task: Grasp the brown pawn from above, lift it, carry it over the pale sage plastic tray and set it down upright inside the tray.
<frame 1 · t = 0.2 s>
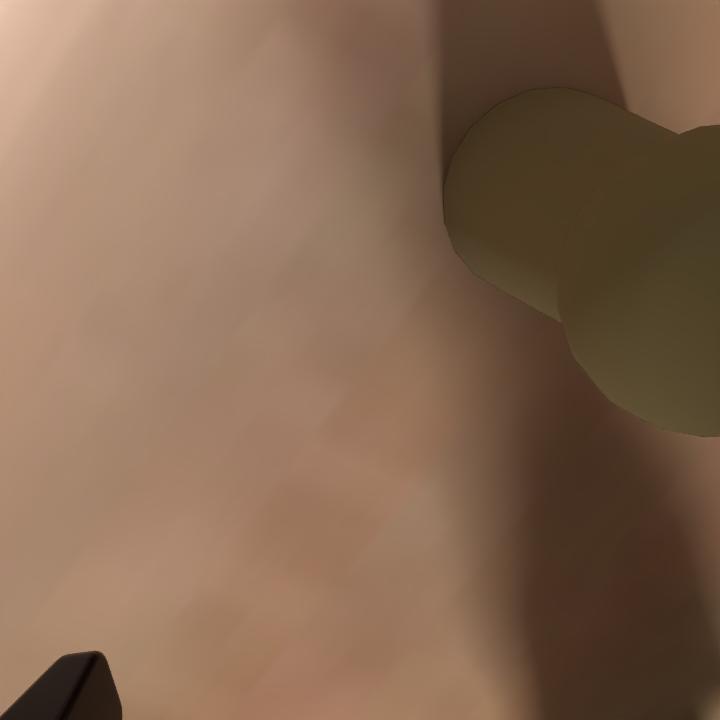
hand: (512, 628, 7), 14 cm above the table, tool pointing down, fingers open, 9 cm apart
brown pawn: (541, 195, 20), on the table
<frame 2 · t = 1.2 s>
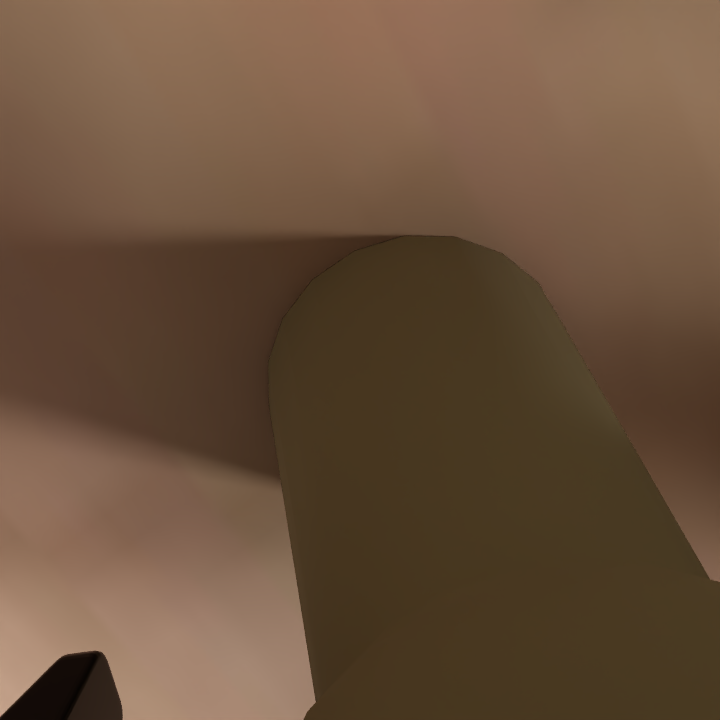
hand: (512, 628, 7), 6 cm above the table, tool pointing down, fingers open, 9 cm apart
brown pawn: (417, 380, 13), on the table
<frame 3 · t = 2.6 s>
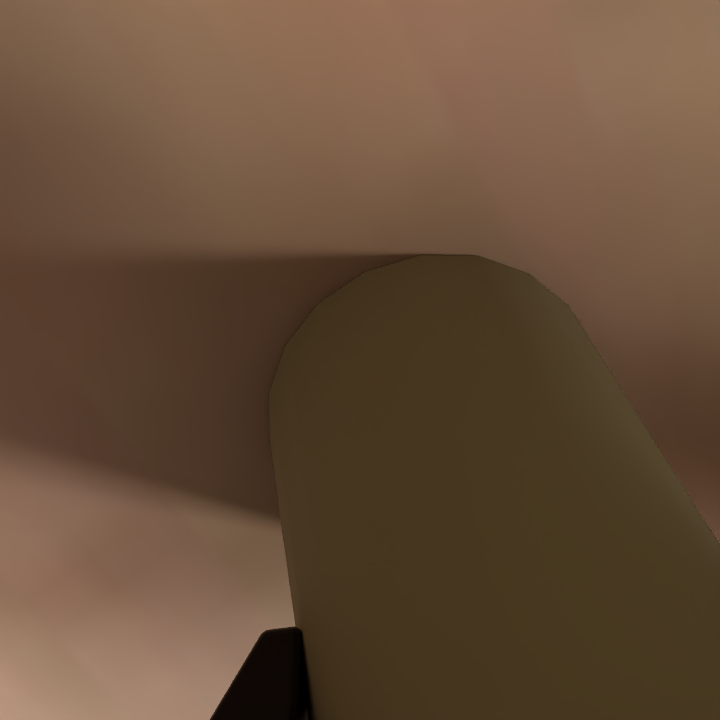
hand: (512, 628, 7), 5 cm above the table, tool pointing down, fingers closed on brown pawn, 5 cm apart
brown pawn: (433, 412, 12), on the table, touching gripper
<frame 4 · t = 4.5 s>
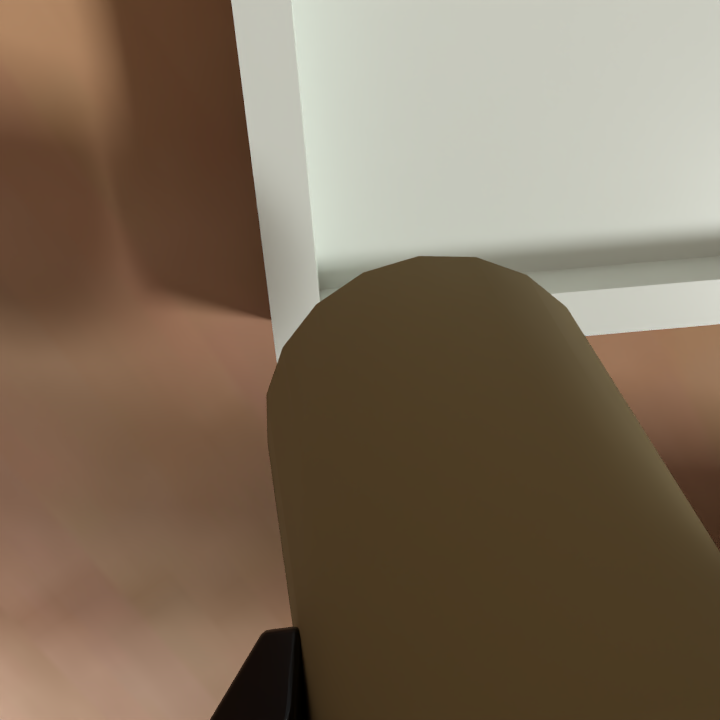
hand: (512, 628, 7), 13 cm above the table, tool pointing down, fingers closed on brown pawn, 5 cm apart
brown pawn: (431, 413, 12), point 8 cm above the table, touching gripper
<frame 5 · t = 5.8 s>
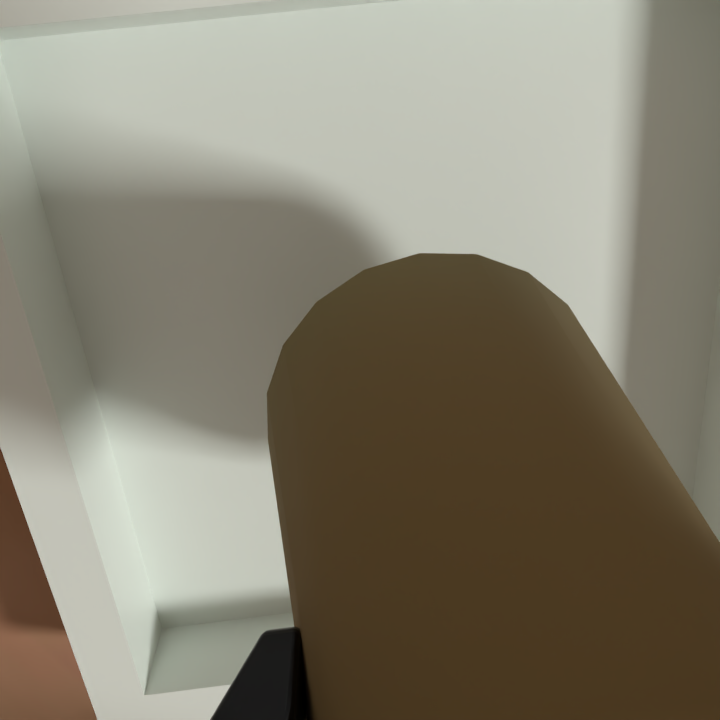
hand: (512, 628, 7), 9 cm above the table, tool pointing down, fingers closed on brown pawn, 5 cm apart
tray: (402, 337, 15), on the table
brown pawn: (432, 411, 12), point 4 cm above the table, touching gripper
when the fingers open (7 cm above the table, at t = 6.8 s): brown pawn drops 1 cm, resting on tray.
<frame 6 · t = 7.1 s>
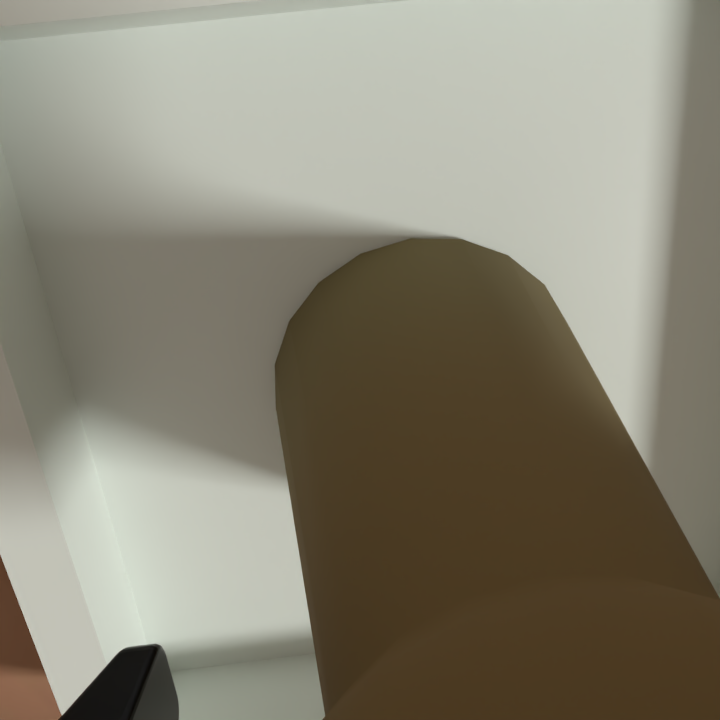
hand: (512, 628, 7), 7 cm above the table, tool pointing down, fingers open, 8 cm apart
tray: (415, 363, 14), on the table
brown pawn: (423, 382, 14), point 1 cm above the table, touching tray
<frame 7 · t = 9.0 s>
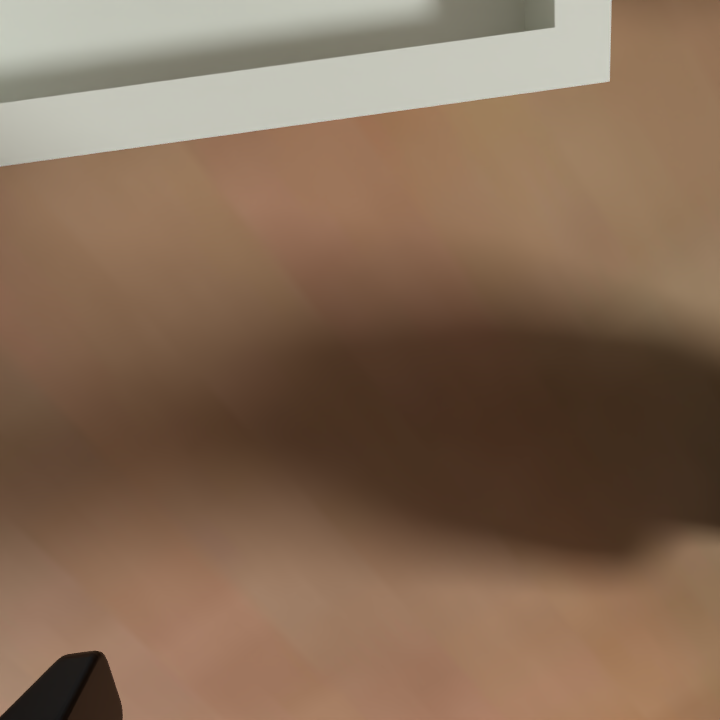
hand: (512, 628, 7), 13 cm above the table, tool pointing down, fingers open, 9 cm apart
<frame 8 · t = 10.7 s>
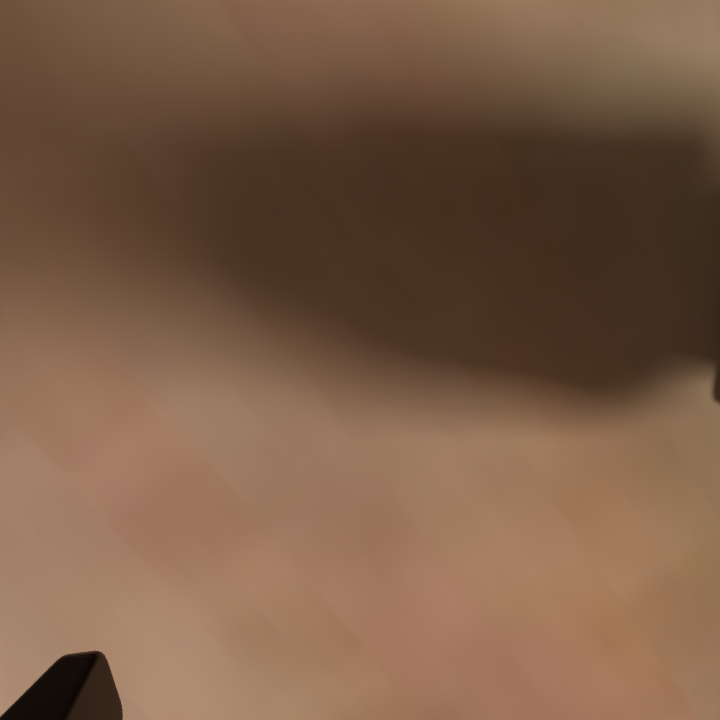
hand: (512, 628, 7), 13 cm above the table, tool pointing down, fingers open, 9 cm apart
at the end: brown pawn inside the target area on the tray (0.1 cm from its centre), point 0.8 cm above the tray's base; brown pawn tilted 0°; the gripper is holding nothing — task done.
